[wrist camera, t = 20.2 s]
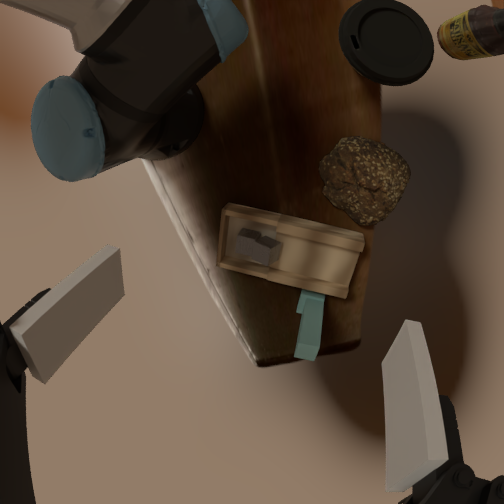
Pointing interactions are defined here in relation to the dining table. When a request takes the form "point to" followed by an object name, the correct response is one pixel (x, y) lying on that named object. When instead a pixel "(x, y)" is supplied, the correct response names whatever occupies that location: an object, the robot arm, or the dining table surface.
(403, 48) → the coffee cup
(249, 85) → the dining table surface
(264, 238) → the chip
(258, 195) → the dining table surface
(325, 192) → the bread roll
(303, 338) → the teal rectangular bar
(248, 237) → the chip
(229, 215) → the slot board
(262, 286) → the dining table surface
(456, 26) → the sauce bottle
